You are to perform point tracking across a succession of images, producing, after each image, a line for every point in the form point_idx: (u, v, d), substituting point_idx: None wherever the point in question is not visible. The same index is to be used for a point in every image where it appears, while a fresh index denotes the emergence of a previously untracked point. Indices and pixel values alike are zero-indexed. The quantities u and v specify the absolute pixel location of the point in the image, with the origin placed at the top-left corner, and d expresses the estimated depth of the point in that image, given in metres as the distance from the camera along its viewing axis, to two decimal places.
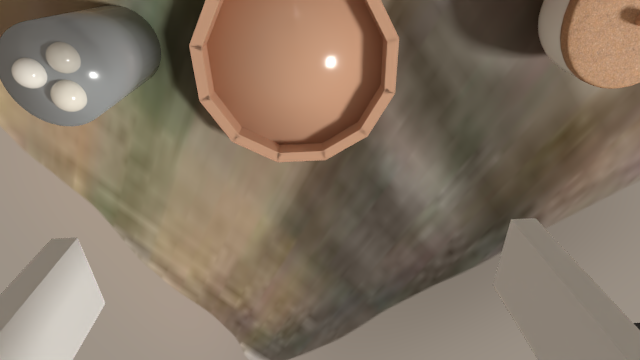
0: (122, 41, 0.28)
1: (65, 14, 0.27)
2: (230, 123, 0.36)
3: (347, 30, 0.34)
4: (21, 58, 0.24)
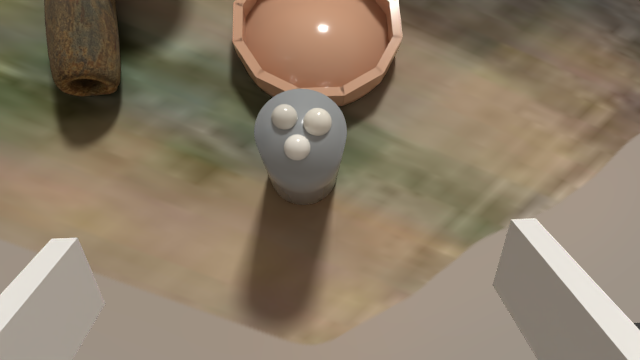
0: None
1: None
2: (365, 73, 0.39)
3: None
4: (284, 150, 0.28)
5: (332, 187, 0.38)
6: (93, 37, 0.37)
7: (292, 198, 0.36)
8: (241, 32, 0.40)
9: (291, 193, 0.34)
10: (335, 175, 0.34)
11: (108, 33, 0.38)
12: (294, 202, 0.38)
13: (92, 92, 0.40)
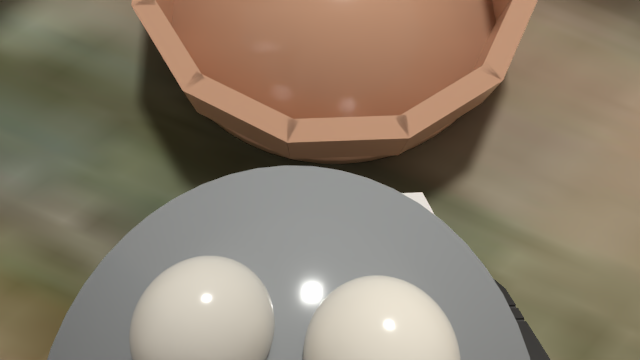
0: None
1: None
2: None
3: None
4: None
5: None
6: None
7: None
8: None
9: None
10: None
11: None
12: None
13: None
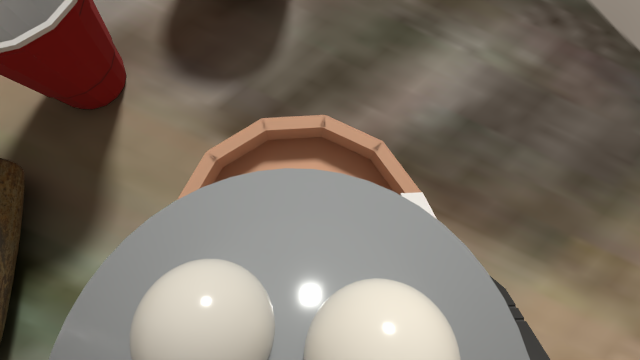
0: None
1: None
2: None
3: None
4: None
5: None
6: None
7: None
8: None
9: None
10: None
11: None
12: None
13: None
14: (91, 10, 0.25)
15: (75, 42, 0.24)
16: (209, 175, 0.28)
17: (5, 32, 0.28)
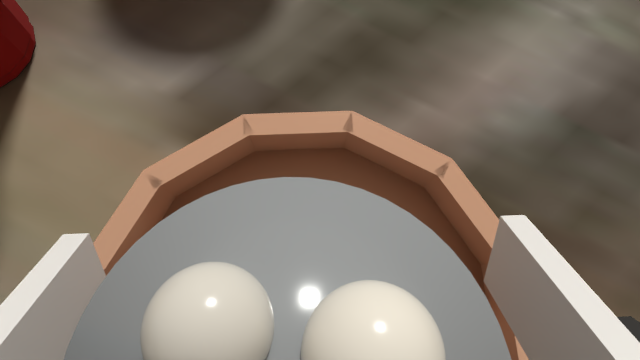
0: None
1: None
2: None
3: None
4: None
5: None
6: None
7: None
8: None
9: None
10: None
11: None
12: None
13: None
14: None
15: None
16: (147, 212, 0.16)
17: None
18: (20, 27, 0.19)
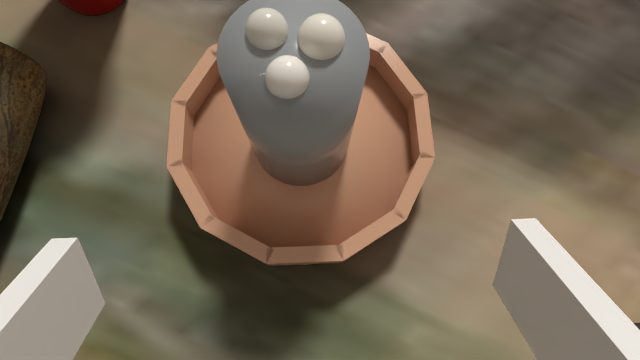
0: None
1: None
2: None
3: None
4: (265, 81, 0.17)
5: (342, 160, 0.26)
6: None
7: (284, 174, 0.25)
8: (181, 150, 0.25)
9: (281, 165, 0.23)
10: (347, 138, 0.23)
11: None
12: (287, 182, 0.26)
13: None
14: None
15: None
16: (210, 71, 0.27)
17: None
18: None
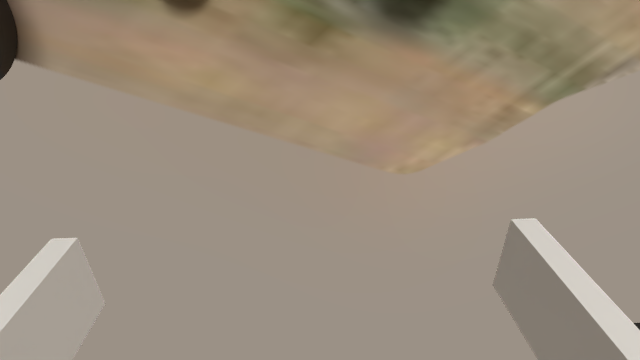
0: None
1: None
2: None
3: None
4: None
5: None
6: None
7: None
8: None
9: None
10: None
11: None
12: None
13: None
14: None
15: None
16: None
17: None
18: None
